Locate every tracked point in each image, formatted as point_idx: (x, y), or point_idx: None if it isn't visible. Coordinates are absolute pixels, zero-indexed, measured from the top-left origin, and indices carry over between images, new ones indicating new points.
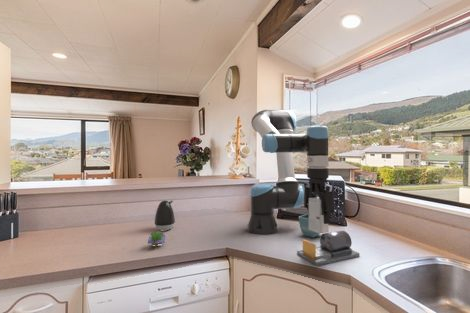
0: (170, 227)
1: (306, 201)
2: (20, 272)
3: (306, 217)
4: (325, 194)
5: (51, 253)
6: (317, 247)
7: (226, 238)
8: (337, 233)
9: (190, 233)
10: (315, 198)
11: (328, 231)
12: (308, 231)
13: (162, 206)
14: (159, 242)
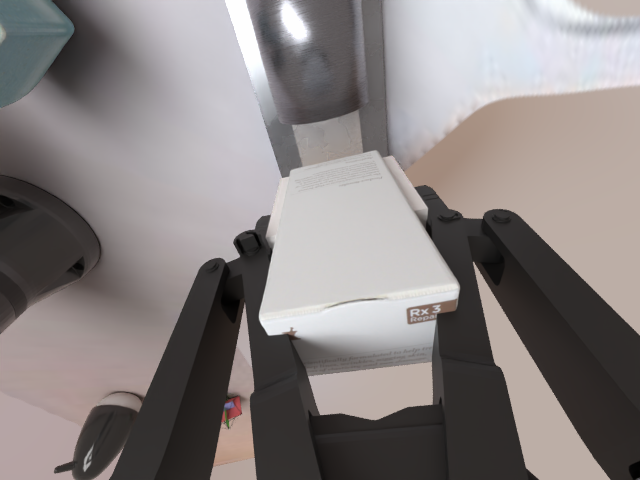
0: (129, 399)
1: (236, 331)
2: None
3: None
4: (580, 426)
5: (249, 444)
6: (263, 110)
7: (164, 323)
8: (325, 28)
9: (141, 369)
10: (359, 360)
11: (392, 156)
12: (52, 60)
13: (106, 466)
14: (232, 404)
